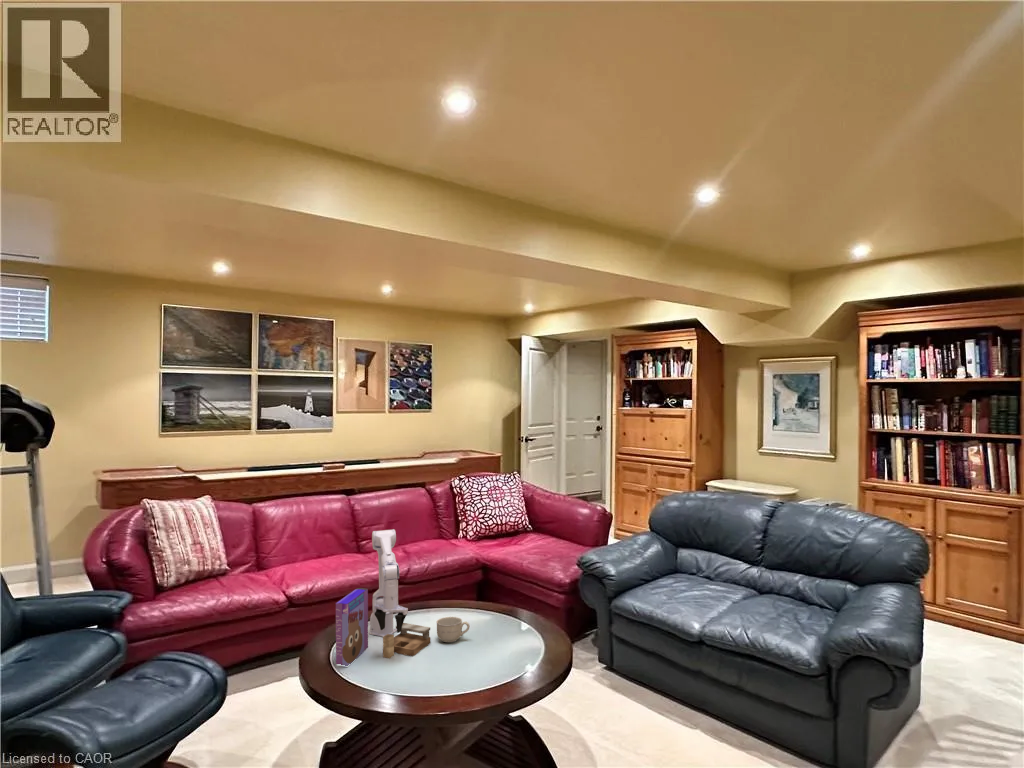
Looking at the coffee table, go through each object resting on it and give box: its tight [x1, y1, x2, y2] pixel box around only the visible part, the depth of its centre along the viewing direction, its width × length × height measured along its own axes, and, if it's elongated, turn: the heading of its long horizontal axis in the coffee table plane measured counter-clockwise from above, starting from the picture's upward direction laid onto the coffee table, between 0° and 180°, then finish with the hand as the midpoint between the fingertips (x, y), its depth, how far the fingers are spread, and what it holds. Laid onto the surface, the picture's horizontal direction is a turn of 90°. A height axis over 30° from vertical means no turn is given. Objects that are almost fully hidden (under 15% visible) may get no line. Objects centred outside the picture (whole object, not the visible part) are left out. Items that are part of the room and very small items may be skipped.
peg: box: [382, 634, 395, 659], centre depth 226 cm, size 3×3×8 cm
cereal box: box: [335, 587, 369, 666], centre depth 226 cm, size 17×5×24 cm, turn 168°
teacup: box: [436, 616, 470, 643], centre depth 241 cm, size 14×11×8 cm
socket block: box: [394, 622, 431, 657], centre depth 235 cm, size 14×13×6 cm
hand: (390, 630), depth 227 cm, fingers open, 7 cm apart
